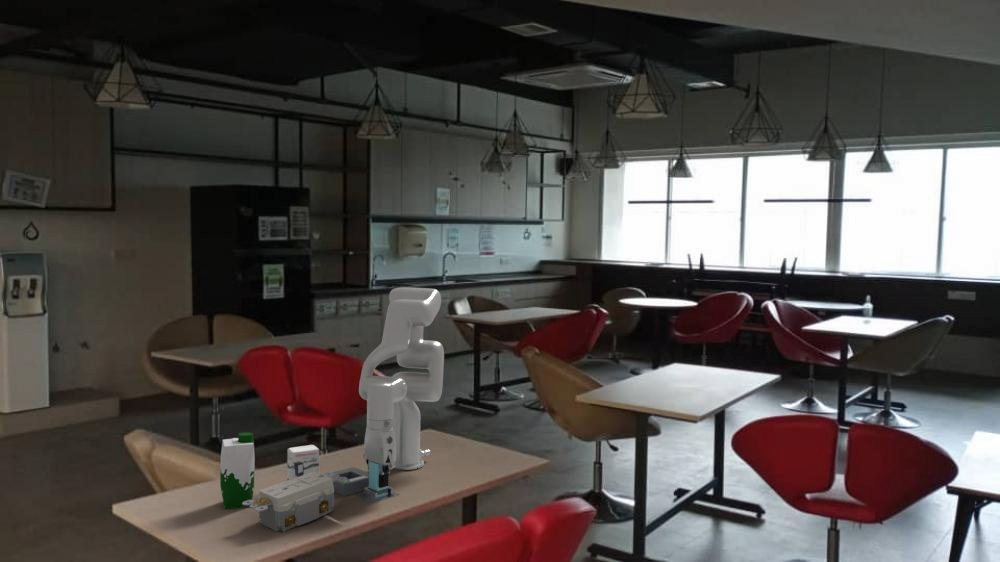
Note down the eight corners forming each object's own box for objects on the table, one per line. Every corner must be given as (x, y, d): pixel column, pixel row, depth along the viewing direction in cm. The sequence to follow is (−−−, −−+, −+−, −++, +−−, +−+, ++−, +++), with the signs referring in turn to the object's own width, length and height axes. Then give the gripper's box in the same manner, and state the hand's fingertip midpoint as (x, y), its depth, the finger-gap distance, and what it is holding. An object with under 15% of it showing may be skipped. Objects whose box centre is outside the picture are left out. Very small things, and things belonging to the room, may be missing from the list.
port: (353, 479, 240) (353, 465, 239) (376, 488, 231) (376, 474, 231) (320, 487, 231) (320, 473, 231) (343, 497, 223) (343, 482, 222)
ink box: (291, 490, 228) (292, 452, 227) (286, 485, 232) (287, 447, 231) (319, 486, 233) (319, 448, 232) (313, 481, 237) (314, 444, 236)
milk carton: (255, 507, 213) (256, 437, 212) (221, 510, 210) (221, 439, 209) (252, 496, 221) (253, 429, 220) (219, 500, 218) (219, 431, 217)
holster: (383, 489, 231) (383, 481, 231) (399, 496, 225) (400, 488, 225) (356, 497, 224) (356, 488, 223) (372, 504, 218) (372, 495, 218)
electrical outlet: (353, 508, 213) (352, 474, 212) (264, 544, 191) (262, 506, 190) (327, 498, 221) (326, 464, 219) (238, 531, 199) (237, 495, 198)
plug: (379, 491, 227) (380, 458, 227) (388, 494, 225) (388, 461, 224) (368, 494, 224) (369, 461, 224) (377, 498, 222) (377, 464, 221)
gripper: (407, 427, 220) (406, 489, 221) (372, 416, 232) (371, 475, 233) (387, 431, 215) (386, 495, 216) (352, 420, 226) (351, 480, 227)
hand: (378, 484), depth 224 cm, fingers closed on plug, 4 cm apart
